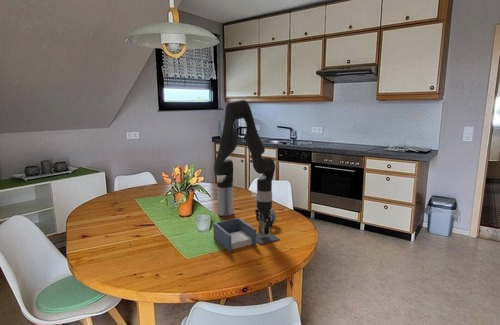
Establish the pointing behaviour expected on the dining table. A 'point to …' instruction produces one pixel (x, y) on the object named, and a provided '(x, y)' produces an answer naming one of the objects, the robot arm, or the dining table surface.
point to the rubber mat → (265, 238)
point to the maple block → (262, 227)
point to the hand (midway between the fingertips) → (264, 232)
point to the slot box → (234, 233)
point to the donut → (273, 215)
